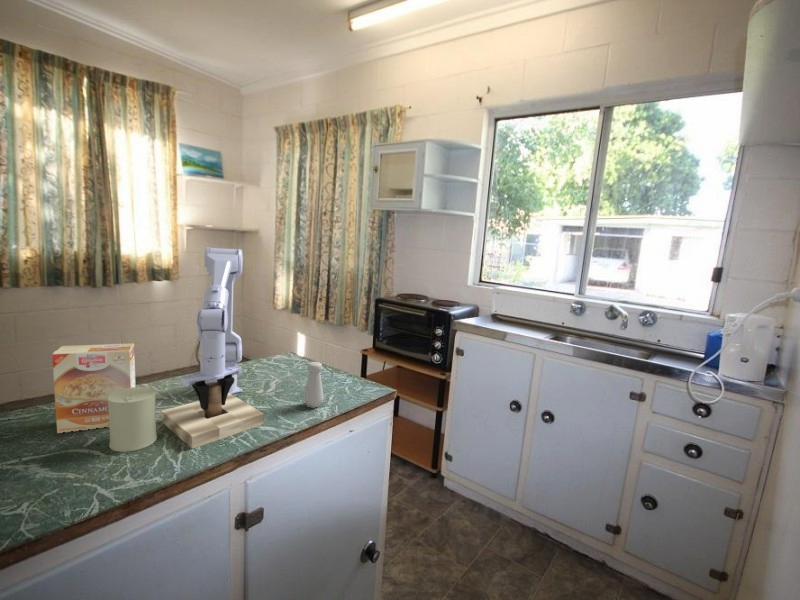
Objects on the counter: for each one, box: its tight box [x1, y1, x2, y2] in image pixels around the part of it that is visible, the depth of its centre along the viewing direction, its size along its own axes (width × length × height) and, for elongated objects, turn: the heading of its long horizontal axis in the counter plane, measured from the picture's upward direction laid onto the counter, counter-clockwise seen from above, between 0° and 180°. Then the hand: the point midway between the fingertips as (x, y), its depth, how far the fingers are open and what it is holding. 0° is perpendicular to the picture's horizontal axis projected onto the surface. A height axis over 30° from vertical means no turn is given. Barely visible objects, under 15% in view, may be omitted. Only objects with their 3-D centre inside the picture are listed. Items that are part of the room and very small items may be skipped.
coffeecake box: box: [52, 342, 136, 434], centre depth 99 cm, size 15×7×20 cm, turn 115°
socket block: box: [160, 393, 265, 450], centre depth 104 cm, size 18×18×3 cm
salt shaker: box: [303, 361, 324, 409], centre depth 118 cm, size 6×6×13 cm
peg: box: [205, 382, 222, 419], centre depth 103 cm, size 4×4×9 cm
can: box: [107, 386, 158, 453], centre depth 92 cm, size 9×9×12 cm
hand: (213, 406), depth 103 cm, fingers closed on peg, 4 cm apart
